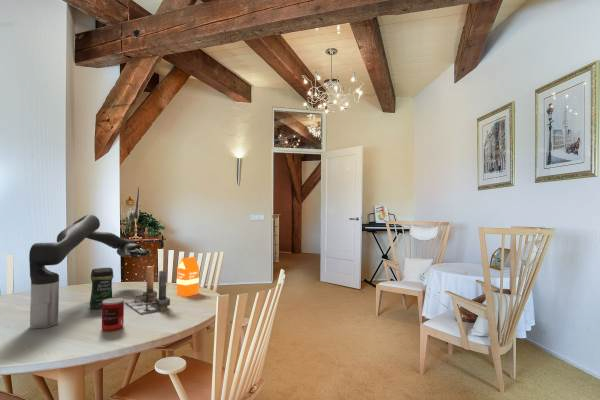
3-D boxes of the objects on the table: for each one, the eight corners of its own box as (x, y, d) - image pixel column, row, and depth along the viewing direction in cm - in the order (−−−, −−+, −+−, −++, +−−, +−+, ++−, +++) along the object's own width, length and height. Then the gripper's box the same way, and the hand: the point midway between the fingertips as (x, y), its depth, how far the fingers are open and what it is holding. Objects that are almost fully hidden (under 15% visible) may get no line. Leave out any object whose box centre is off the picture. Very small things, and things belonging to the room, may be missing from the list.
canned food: (118, 323, 142) (118, 296, 142) (127, 327, 137) (127, 300, 137) (98, 328, 136) (98, 300, 136) (106, 333, 131) (106, 304, 131)
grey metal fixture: (169, 308, 162) (170, 271, 163) (140, 314, 153) (141, 274, 154) (151, 298, 181) (151, 264, 181) (124, 302, 172) (124, 267, 172)
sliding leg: (156, 299, 175) (157, 266, 175) (135, 302, 168) (135, 268, 168) (153, 297, 179) (153, 265, 179) (132, 300, 172) (132, 267, 172)
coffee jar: (90, 310, 159) (91, 270, 160) (88, 306, 165) (89, 267, 166) (114, 306, 165) (115, 268, 166) (111, 303, 171) (112, 265, 172)
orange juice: (198, 293, 192) (199, 257, 192) (185, 296, 185) (186, 259, 185) (189, 291, 196) (190, 256, 197) (176, 294, 189) (176, 257, 189)
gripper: (121, 245, 191) (131, 248, 178) (146, 243, 199) (157, 246, 187) (121, 258, 190) (130, 262, 178) (146, 256, 199) (157, 260, 186)
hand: (144, 254), depth 182 cm, fingers closed
